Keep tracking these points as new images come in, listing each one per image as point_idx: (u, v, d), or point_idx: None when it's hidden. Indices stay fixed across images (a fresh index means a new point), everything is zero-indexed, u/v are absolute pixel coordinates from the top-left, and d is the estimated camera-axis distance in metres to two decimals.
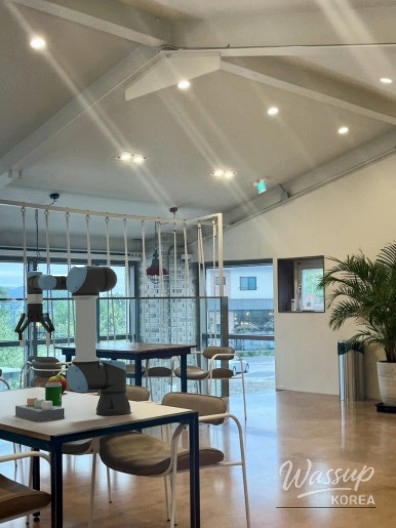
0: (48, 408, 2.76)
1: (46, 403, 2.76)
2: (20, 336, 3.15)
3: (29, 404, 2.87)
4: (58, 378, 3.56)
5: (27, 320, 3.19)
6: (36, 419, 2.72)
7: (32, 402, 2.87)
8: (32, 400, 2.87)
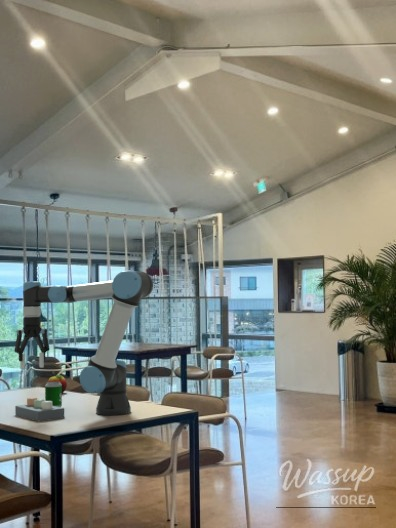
0: (48, 408, 2.76)
1: (46, 403, 2.76)
2: (20, 357, 2.86)
3: (29, 404, 2.87)
4: (58, 378, 3.56)
5: (25, 337, 2.89)
6: (36, 419, 2.72)
7: (32, 402, 2.87)
8: (32, 400, 2.87)
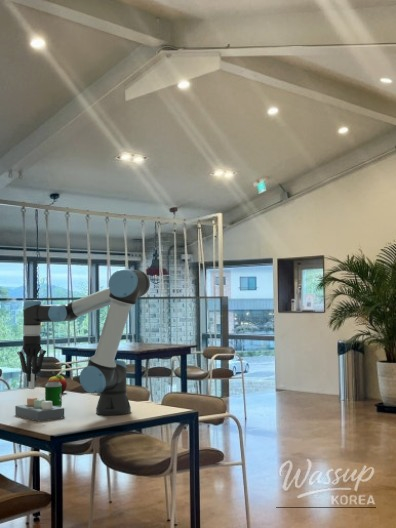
0: (48, 408, 2.76)
1: (46, 403, 2.76)
2: (29, 377, 2.88)
3: (29, 404, 2.87)
4: (58, 378, 3.56)
5: (27, 357, 2.89)
6: (36, 419, 2.72)
7: (32, 402, 2.87)
8: (32, 400, 2.87)
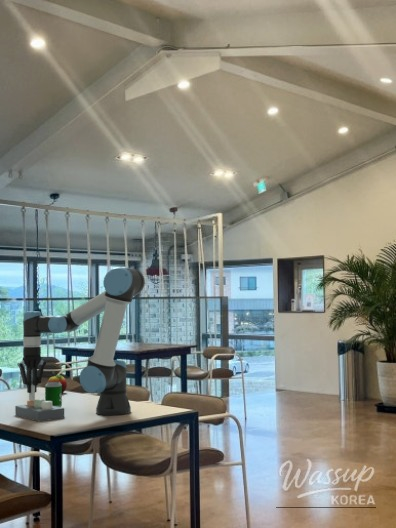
0: (48, 408, 2.76)
1: (46, 403, 2.76)
2: (29, 388, 2.88)
3: (29, 406, 2.86)
4: (58, 378, 3.56)
5: (27, 368, 2.89)
6: (36, 419, 2.72)
7: (32, 404, 2.87)
8: (32, 402, 2.87)
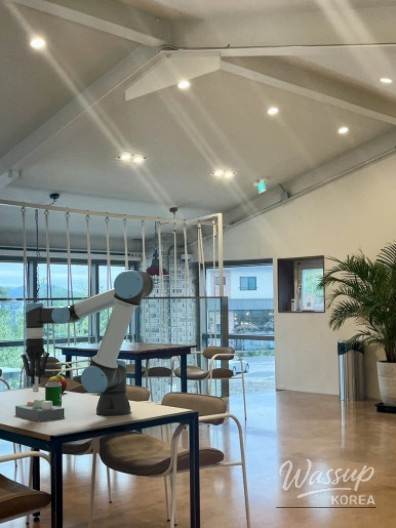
0: (48, 408, 2.76)
1: (46, 403, 2.76)
2: (33, 380, 2.86)
3: None
4: (58, 378, 3.56)
5: (30, 360, 2.87)
6: (36, 419, 2.72)
7: None
8: (32, 404, 2.87)
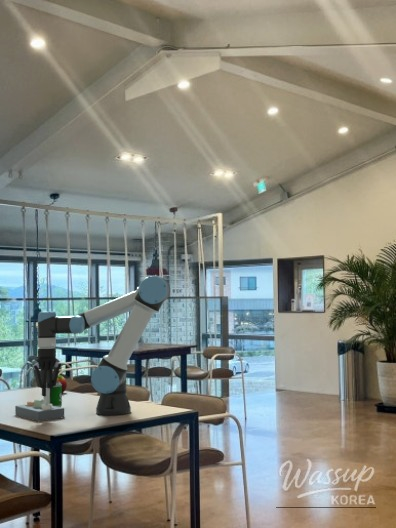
0: None
1: (46, 406, 2.76)
2: (44, 391, 2.77)
3: None
4: (58, 378, 3.56)
5: (42, 370, 2.78)
6: (36, 419, 2.72)
7: None
8: (32, 404, 2.87)
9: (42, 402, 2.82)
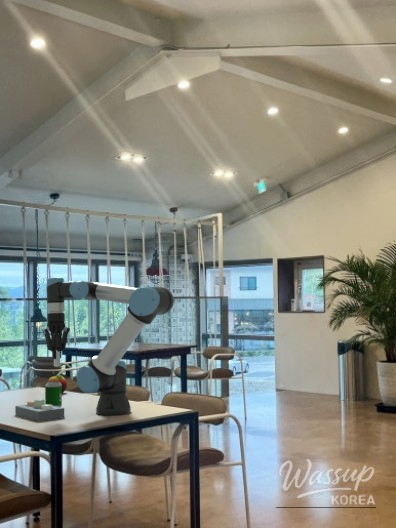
0: None
1: (46, 407, 2.76)
2: (54, 354, 2.87)
3: None
4: (58, 378, 3.56)
5: (52, 334, 2.88)
6: (36, 419, 2.72)
7: None
8: (32, 404, 2.87)
9: (42, 402, 2.82)
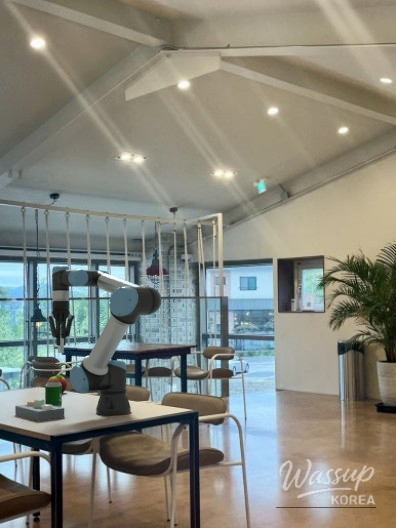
0: None
1: (46, 407, 2.76)
2: (58, 341, 2.94)
3: None
4: (58, 378, 3.56)
5: (56, 321, 2.95)
6: (36, 419, 2.72)
7: None
8: (32, 404, 2.87)
9: (42, 402, 2.82)
